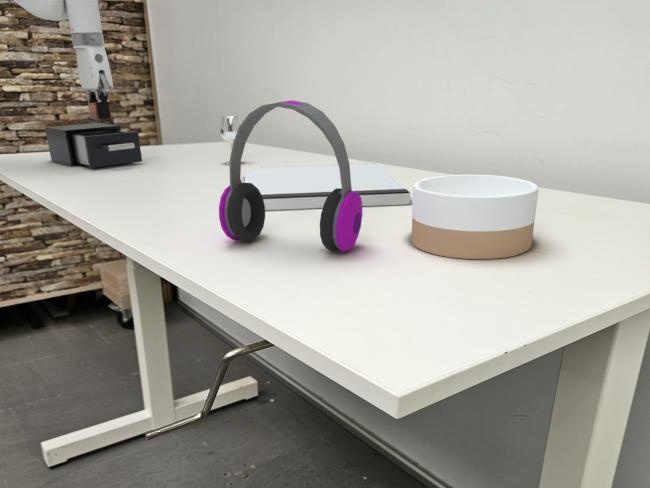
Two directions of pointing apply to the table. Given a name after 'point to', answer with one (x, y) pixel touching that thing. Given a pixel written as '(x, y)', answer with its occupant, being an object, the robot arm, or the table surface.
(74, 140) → the black drawer
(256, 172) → the pale grey flat slab
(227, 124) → the wineglass
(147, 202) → the table surface
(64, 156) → the drawer box
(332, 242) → the headphones
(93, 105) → the block
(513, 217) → the bowl
